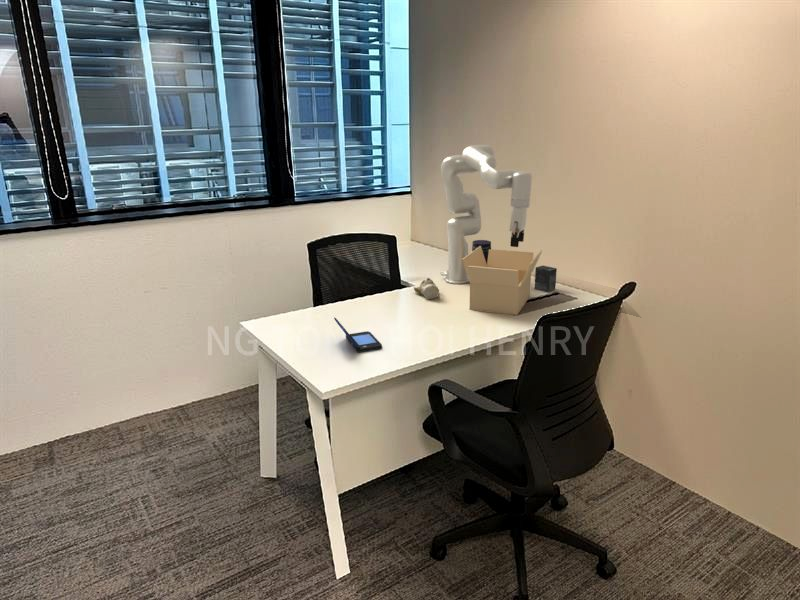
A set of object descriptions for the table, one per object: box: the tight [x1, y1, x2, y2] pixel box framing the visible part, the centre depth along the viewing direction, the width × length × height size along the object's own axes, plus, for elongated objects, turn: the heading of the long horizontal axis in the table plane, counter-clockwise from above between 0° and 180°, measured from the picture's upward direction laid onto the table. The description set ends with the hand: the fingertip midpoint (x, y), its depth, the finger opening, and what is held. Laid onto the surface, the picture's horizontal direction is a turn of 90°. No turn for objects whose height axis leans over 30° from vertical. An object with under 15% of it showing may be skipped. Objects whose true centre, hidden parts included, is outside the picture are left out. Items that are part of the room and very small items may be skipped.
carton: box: [462, 246, 535, 316], centre depth 227 cm, size 24×32×22 cm
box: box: [534, 265, 558, 293], centre depth 244 cm, size 8×6×11 cm
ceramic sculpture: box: [413, 277, 440, 300], centre depth 240 cm, size 11×9×15 cm
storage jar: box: [471, 239, 492, 264], centre depth 279 cm, size 10×10×15 cm
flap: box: [520, 249, 543, 287], centre depth 219 cm, size 10×25×1 cm
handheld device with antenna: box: [333, 317, 383, 353], centre depth 189 cm, size 16×13×9 cm
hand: (516, 243), depth 222 cm, fingers open, 9 cm apart
